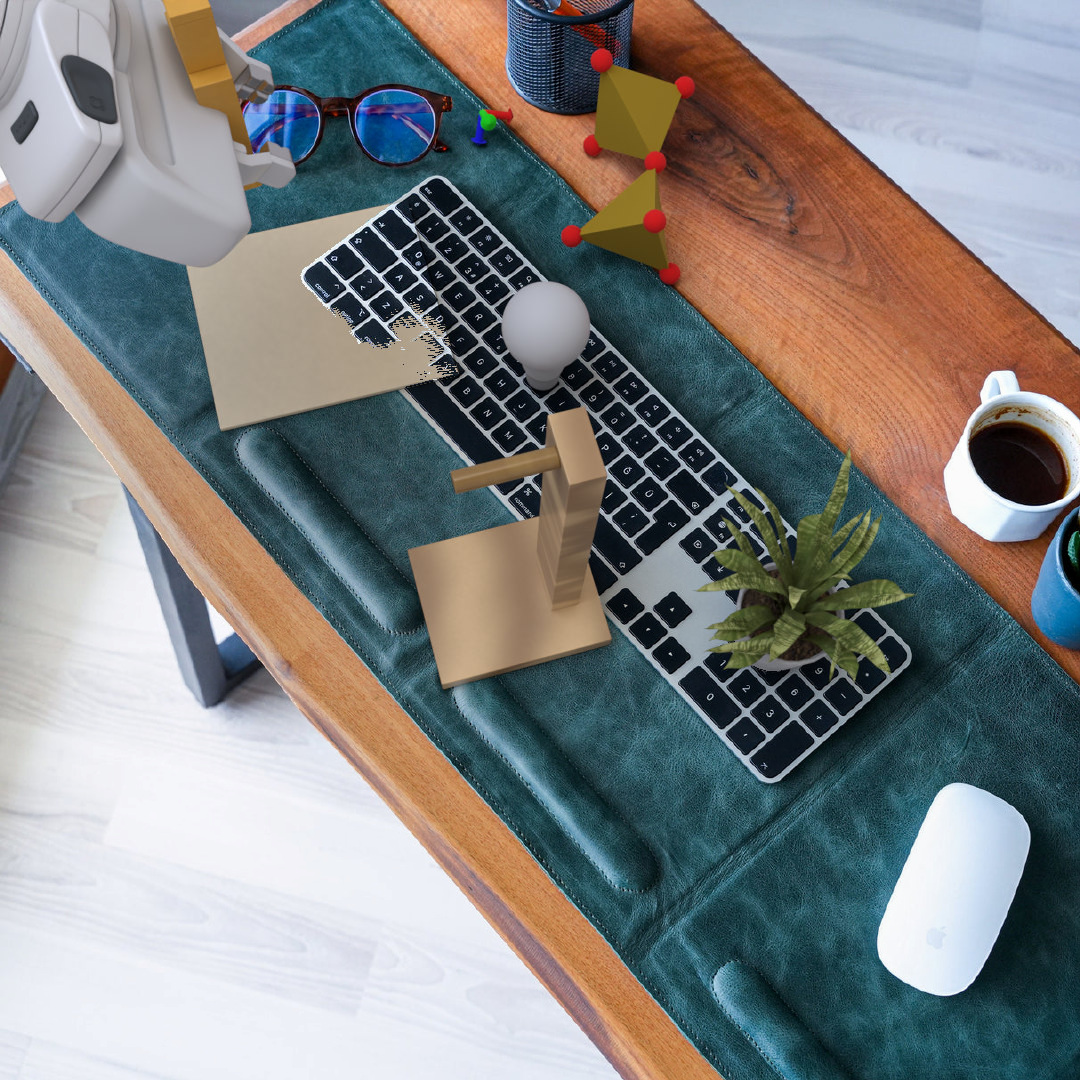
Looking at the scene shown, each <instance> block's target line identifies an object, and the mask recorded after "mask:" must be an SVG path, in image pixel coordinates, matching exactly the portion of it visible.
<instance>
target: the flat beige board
mask: <svg viewBox="0 0 1080 1080" xmlns="http://www.w3.org/2000/svg"><path fill="white" fill-rule="evenodd" d="M392 203H393V202H392ZM392 203H387V204H383V205H377V206H373V207H368V208H365V209H364V208H363V209H359V210H355V211H351V212H346V213H342V214H337V215H331V216H327V217H323V218H317V219H314V220H308V221H303V222H298V223H294V224H291V225H286V226H281V227H276V228H271V229H266V230H263V231H258V232H253V233H247V235H246V236H245V237H244V238H243V239H242V240H241V241H240V243H239V244H238V245H237V246H236V247H235V248H234V249H233V250H232V251H231V252H230V253H229V254H228V255H227V256H226V257H225V258H223V259H222V260H221V261H219V262H217V263H216V264H214V265H211V266H209V267H203V268H200V267H193V266H187V265H185V266H186V267H185V268H186V272H187V277H188V281H189V285H190V289H191V290H190V291H191V295H192V300H193V304H194V309H195V315H196V319H197V325H198V328H199V333H200V338H201V343H202V348H203V352H204V358H205V362H206V367H207V372H208V376H209V382H210V386H211V387H210V388H211V391H212V397H213V400H214V405H215V411H216V415H217V420H218V424H219V425H218V426H219V429H220V431H221V432H225V431H229V430H233V429H238V428H243V427H246V426H250V425H254V424H258V423H259V424H260V423H263V422H269V421H271V420H275V419H280V418H283V417H284V418H285V417H289V416H293V415H298V414H301V413H305V412H310V411H314V410H318V409H322V408H327V407H331V406H336V405H339V404H344V403H347V402H352V401H357V400H361V399H365V398H369V397H373V396H378V395H381V394H382V395H383V394H386V393H390V392H394V391H398V390H403V389H406V388H405V387H406V386H410V385H414V384H418V383H422V382H425V381H429V380H433V379H439V378H443V377H446V376H450V375H453V374H444V375H442V374H443V373H447V372H439V373H437V372H438V371H449V370H451V369H444V368H445V367H438V368H436V367H437V366H441V365H433V366H428V365H429V364H431V363H432V362H434V361H436V360H434V359H436V358H432V357H434V356H437V355H438V354H440V353H442V352H440V353H435V352H439V351H444V350H439V349H441V348H443V347H441V348H435V347H438V346H440V345H437V346H433V345H435V344H436V343H433V344H428V343H430V342H435V341H430V342H425V341H429V340H433V339H431V338H433V337H435V336H432V337H428V336H430V335H443V334H444V333H442V332H444V331H441V330H444V329H445V328H446V325H445V326H440V327H445V328H443V329H438V328H440V327H437V326H439V325H441V324H437V323H440V322H434V321H437V320H431V319H434V318H429V317H431V316H426V317H424V318H426V319H422V320H423V321H422V322H424V324H427V326H428V327H429V328H430V329H432V330H428V329H429V328H424V327H426V326H420V325H422V324H418V323H421V322H416V321H418V320H413V319H415V318H411V317H412V316H408V318H409V319H403V318H404V317H401V318H400V319H402V320H403V321H404V323H406V324H408V327H410V328H406V327H407V326H403V325H404V324H400V323H403V322H399V321H402V320H396V323H393V326H392V327H393V328H391V329H394V330H392V331H395V335H396V336H397V337H398V338H399V340H401V341H395V342H389V343H390V344H391V345H386V346H388V348H383V347H385V346H381V345H382V344H378V345H373V346H371V345H372V344H374V343H371V344H369V342H364V343H362V342H363V341H364V340H363V341H360V342H361V343H360V344H358V342H357V339H356V337H354V335H353V336H352V334H353V333H352V334H350V333H351V332H352V331H351V330H352V328H353V327H355V326H352V327H350V326H351V325H352V324H350V325H348V324H349V323H351V322H349V323H347V322H348V321H349V320H348V321H346V320H347V319H344V318H345V317H342V316H343V315H341V314H342V313H339V312H340V311H338V310H339V309H337V310H333V311H335V312H334V313H336V314H335V315H333V314H334V313H332V311H330V310H331V309H328V307H327V308H326V307H325V306H323V304H322V302H320V301H319V300H318V299H317V298H318V297H316V295H314V293H313V292H311V291H310V290H308V289H307V287H305V285H304V284H303V283H302V280H301V276H300V275H301V273H302V270H303V269H304V268H305V267H307V266H309V265H310V264H311V263H313V262H314V261H315V259H317V258H319V257H320V256H322V255H323V254H324V253H326V252H327V251H328V250H331V248H332V247H334V246H335V245H336V244H338V243H339V242H341V241H342V240H343V239H344V238H346V237H347V236H348V235H349V234H352V233H354V232H355V231H356V230H357V229H358V228H360V227H361V226H363V225H364V224H365V223H366V222H367V221H368V220H370V219H371V218H373V217H375V216H376V215H377V214H379V212H381V211H382V210H384V209H386V208H387V207H388V206H389V205H390V204H392ZM410 299H411V298H410ZM411 301H412V300H411ZM413 303H415V302H413ZM325 304H327V303H325ZM410 304H412V303H410ZM416 305H419V304H414V305H411V306H412V308H416V307H420V306H416ZM413 306H416V307H413ZM336 308H337V307H336ZM336 308H333V309H336ZM327 309H328V310H327ZM419 309H420V308H418V309H413V310H415V311H413V312H418V313H415V314H423V313H424V312H422V311H423V310H420V311H417V310H419ZM395 310H396V309H395ZM337 311H338V312H337ZM396 312H398V311H396ZM420 312H422V313H420ZM338 313H339V314H338ZM391 313H392V312H391ZM339 315H340V316H339ZM344 315H345V314H344ZM391 315H394V314H391ZM424 315H425V314H424ZM428 315H429V314H428ZM335 316H336V317H335ZM419 316H420V315H419ZM340 317H341V318H340ZM386 318H388V317H386ZM421 318H423V317H421ZM406 320H411V321H406ZM419 320H420V319H419ZM424 320H427V321H424ZM428 320H431V321H428ZM409 322H414V323H416V325H410V324H412V323H409ZM428 322H433V324H436V325H429V324H431V323H428ZM394 324H399V325H394ZM396 326H399V327H396ZM413 326H415V327H413ZM433 326H434V327H433ZM390 327H391V326H390ZM349 331H350V332H349ZM422 331H436V333H437V334H429V335H424V334H426V333H428V332H426V333H421V332H422ZM396 333H397V334H396ZM432 333H435V332H432ZM420 334H423V335H421V336H423V338H419V337H421V336H418V335H420ZM443 336H444V335H443ZM443 336H436V337H443ZM416 337H418V338H416ZM413 338H415V339H417V340H416V341H414V340H415V339H413ZM361 339H362V338H361ZM375 339H376V338H375ZM387 339H390V338H387ZM421 339H426V340H421ZM436 339H439V338H436ZM441 339H442V338H441ZM443 339H449V336H448V337H447V338H443ZM395 340H398V339H395ZM412 340H413V341H412ZM390 341H392V340H390ZM410 341H411V342H410ZM445 341H449V342H450V339H449V340H445ZM449 342H444V343H447V344H448V345H450V346H451V343H449ZM377 343H379V342H377ZM394 343H395V344H394ZM384 344H388V343H384ZM448 345H446V346H448ZM375 346H380V347H375ZM390 346H391V347H390ZM425 346H426V347H425ZM373 347H375V348H373ZM401 347H403V348H401ZM381 348H382V349H381ZM427 348H431V349H427ZM401 349H405V350H401ZM430 350H435V351H430ZM446 350H447V349H446ZM428 355H434V356H428ZM444 355H446V354H444ZM430 360H434V361H430ZM428 363H429V364H428ZM438 363H439V362H438ZM444 363H447V362H444ZM403 364H404V365H403ZM446 365H447V364H446ZM448 365H451V364H448ZM449 367H451V366H449ZM452 367H457V365H456V366H452ZM439 368H442V369H443V370H437V369H439ZM455 370H456V372H458V373H459V370H458V367H457V368H455ZM424 371H425V372H424ZM417 372H418V373H417ZM429 372H430V374H424V373H429ZM451 372H454V371H449V373H451ZM420 374H422V375H420ZM425 376H426V377H425ZM420 379H423V380H420Z"/></svg>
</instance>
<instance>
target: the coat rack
mask: <svg viewBox="0 0 1080 1080" xmlns="http://www.w3.org/2000/svg"><path fill="white" fill-rule="evenodd" d="M449 474H450V480H451V483H452V487H453V490H454V493H455V494H456V495H459V494H464V493H467V492H471V491H474V490H479V489H483V488H486V487H491V486H495V485H499V484H503V483H507V482H511V481H515V480H520V479H523V478H527V477H531V476H535V475H539V474H542V479H541V481H542V482H541V492H540V503H539V505H540V506H539V515H538V516H534V517H530V518H527V519H522V520H519V521H515V522H509V523H507V524H503V525H498V526H495V527H494V526H493V527H491V528H486V529H482V530H478V531H475V532H471V533H467V534H464V535H463V534H462V535H459V536H455V537H451V538H448V539H444V540H440V541H435V542H431V543H427V544H423V545H420V546H416V547H412V548H408V549H407V554H408V559H409V562H410V567H411V571H412V575H413V578H414V583H415V586H416V590H417V593H418V594H417V595H418V597H419V602H420V606H421V609H422V613H423V617H424V621H425V624H426V629H427V633H428V637H429V640H430V641H429V642H430V644H431V648H432V652H433V656H434V660H435V664H436V668H437V671H438V672H437V673H438V675H439V676H438V677H439V679H440V683H441V687H442V689H443V690H446V689H450V688H454V687H457V686H462V685H464V684H469V683H472V682H476V681H480V680H484V679H488V678H491V677H494V676H498V675H502V674H505V673H510V672H513V671H517V670H521V669H525V668H527V667H531V666H536V665H540V664H543V663H546V662H550V661H554V660H559V659H561V658H565V657H569V656H572V655H576V654H579V653H580V654H581V653H583V652H587V651H591V650H595V649H598V648H602V647H605V646H606V647H607V646H610V645H611V643H612V640H613V637H612V634H611V631H610V628H609V624H608V621H607V618H606V614H605V612H604V609H603V604H602V602H601V599H600V596H599V593H598V588H597V586H596V583H595V579H594V576H593V574H592V569H591V567H590V563H589V559H590V555H591V551H592V547H593V541H594V538H595V533H596V529H597V524H598V519H599V515H600V511H601V510H600V509H601V506H602V501H603V498H604V492H605V488H606V484H607V479H608V473H607V469H606V467H605V464H604V460H603V457H602V454H601V450H600V448H599V445H598V442H597V439H596V436H595V432H594V429H593V426H592V424H591V420H590V417H589V414H588V411H587V408H586V406H584V405H583V406H580V407H575V408H572V409H568V410H564V411H560V412H555V413H551V414H548V415H547V419H546V433H545V445H544V447H543V448H538V449H534V450H530V451H526V452H523V453H517V454H514V455H510V456H507V457H501V458H497V459H493V460H490V461H486V462H482V463H478V464H473V465H469V466H466V467H462V468H457V469H454V470H451V471H450V472H449Z"/></svg>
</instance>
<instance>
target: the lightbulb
mask: <svg viewBox="0 0 1080 1080" xmlns="http://www.w3.org/2000/svg"><path fill="white" fill-rule="evenodd" d="M590 334H591V319H590V314H589V311H588V309H587V306H586V304H585V302H584V301H583V300H582V298H581V297H580V295H579V294H578V293H577V292H576V291H575V290H573V289H572V288H570V287H568V286H567V285H565V284H563V283H562V284H561V283H559V282H555V281H546V280H545V281H536V282H531V283H530V284H527V285H526V286H523V287H521V289H519V290H518V291H516V293H514V295H513V296H512V297H511V298H510V300H509V301H508V302H507V304H506V306H505V309H504V311H503V315H502V317H501V335H502V339H503V341H504V344H505V346H506V348H507V350H508V352H509V353H510V355H511V356H512V357H513V358H514V359H515V360H516V361H517V362H519V363H520V364H522V368H523V370H524V372H525V378H526V381H527V383H528V384H529V386H530V387H531V388H533V389H535V390H538V391H547V390H548V391H549V390H551V389H552V388H554V387H555V386H557V384H558V382H559V379H560V376H561V373H562V372H563V370H564V368H565V367H567V366H569V365H571V364H572V363H573V362H574V361H576V360H578V358H579V357H580V356H581V354H583V351H584V350H585V348H586V346H587V344H588V342H589V338H590Z"/></svg>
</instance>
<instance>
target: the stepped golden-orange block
mask: <svg viewBox="0 0 1080 1080" xmlns="http://www.w3.org/2000/svg"><path fill="white" fill-rule="evenodd" d="M161 1H162V2H163V4H164V7H165V10H166V12H164V14H165V17H166V20H167V23H168V26H169V28H170V31H171V34H172V36H173V39H174V42H175V44H176V47H177V49H178V52H179V55H180V57H181V60H182V62H183V65H184V68H185V70H186V73H187V75H188V78H189V81H190V83H191V86H192V88H193V91H194V94H195V96H196V99H197V101H198V104H199V105H201V106H204V107H208V108H212V109H215V110H219V111H221V112H223V113H225V114H226V115H227V117H228V122H229V126H230V130H231V135H232V139H233V141H235V142H237V143H240V144H243V145H244V146H245V147H246V151H247V153H246V154H247V155H250V154H255V153H254V150H253V147H252V142H251V138H250V136H249V132H248V129H247V125H246V120H245V118H244V114H243V111H242V107H241V104H240V100H239V99H240V98H238V96H237V92H236V89H235V85H234V81H233V78H232V75H231V73H230V70H229V68H228V65H227V63H226V59H225V55H224V52H223V48H222V45H221V41H220V37H219V34H218V30H217V27H218V26H217V24H216V20H215V16H214V12H213V10H212V9H213V8H212V5H211V4H210V1H209V0H161ZM216 26H217V27H216ZM262 186H263V184H262V183H259V182H255V183H252V184H249V185H245V186H243V188H244V192H246V191H249V190H253V189H255V188H259V187H262Z"/></svg>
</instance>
